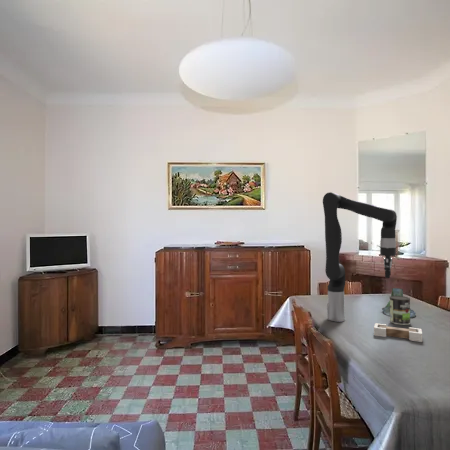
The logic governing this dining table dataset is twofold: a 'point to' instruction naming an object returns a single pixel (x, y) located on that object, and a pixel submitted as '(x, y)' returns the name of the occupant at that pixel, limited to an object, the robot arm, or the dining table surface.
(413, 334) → the end caps
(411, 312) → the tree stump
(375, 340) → the dining table surface
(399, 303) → the coffee can
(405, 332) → the slat
